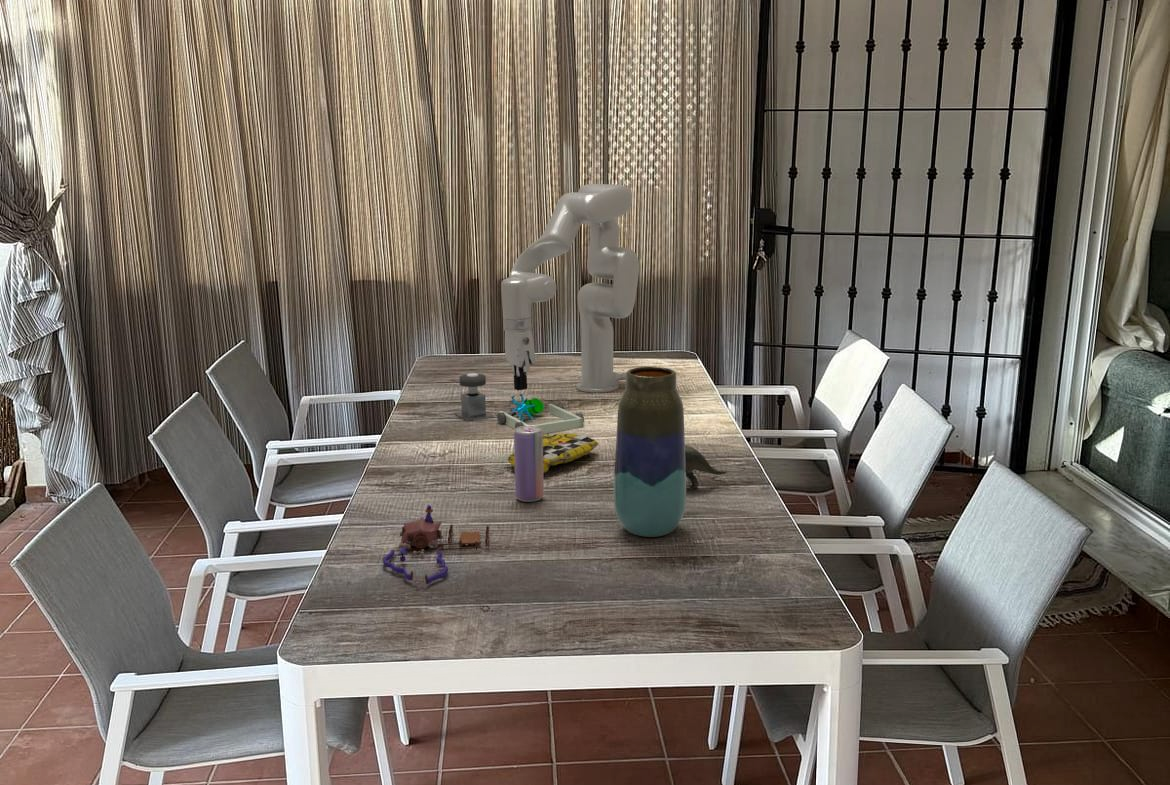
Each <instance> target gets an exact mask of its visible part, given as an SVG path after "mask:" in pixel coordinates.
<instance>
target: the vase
mask: <svg viewBox="0 0 1170 785" xmlns="http://www.w3.org/2000/svg"><path fill="white" fill-rule="evenodd" d="M625 373H626V379H625V389H624V390H623V393H622V396H621V398H620V399H619V402H618V405H617V406H618V408H617V422H616V438H615V456H614V474H613V505H614V512H615V514H616V515H615V516H616V517H617V519H618V521H619V522H620V525H622V527H623V528H624V529H625V530H626V531H627V532H628V533H630V534H632V535H635V536H639V537H645V538H646V537H647V538H652V537H653V538H655V537H662V536H665V535H668V534H670V533H672V532H673V531H674V530H675V529H676V528H677V527H678V525H679V524H680V523H681V521H682V519H683V517H684V514H685V510H686V504H687V477H686V461H685V445H686V439H685V438H686V437H685V435H686V434H685V413H684V412H685V411H684V402H683V400H682V398H681V395H680V394H679V392H678V389H677V372H676V371H675V370H674V369H671V368H668V367H661V366H660V367H659V366H642V367H641V366H639V367H633V368H631V369H628V370H626V372H625Z"/></svg>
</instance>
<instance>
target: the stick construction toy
mask: <svg viewBox="0 0 1170 785" xmlns="http://www.w3.org/2000/svg"><path fill="white" fill-rule="evenodd" d="M519 396H520V397H521V399H520V400H521V403H520V402H518V401H517V400H516V399H515V396H514V395H513V396H511V400H510V403H514V405H515V406H516V407H517V408H514V409H510V410H509V413H511V412H512V413H511V414H510V415H511V416H513V417H516V419H518V418H520V421H522V422H524V423H526V420H524V416H523V415H524V414H526V415H527V416H528V417H529V418H530V422H532V421H533V420H534V416H536V415H538V414H541V413H542V412H543V411H544V409H545V408H544V407H545V406H544V403H543V401H541V399H539V398H537V397H533V398H531V399H527V398H526V399H525V400H524V395H523V393H520V394H519Z"/></svg>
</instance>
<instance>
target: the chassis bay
mask: <svg viewBox="0 0 1170 785" xmlns="http://www.w3.org/2000/svg"><path fill="white" fill-rule="evenodd" d="M547 406H548V408H547V409H548V411H547V412H548V413H549V414H551V415H552V416H555V417H557V418H560V419H562V420H558V421H550V422H546V423H545V422H544V423H537V424H533V425H532V424H531V425H530V424H528V423H526V422H522V421H521V419H518V418H517V417H516V416H511V414H509V413H507V412H505V411H503V410H499V411H497V415H496V418H497V423H498V424H499V425H503V424H504V425H506V426H509V427H510V428H512V429H514V430H515V429H516V428H517V427H520V426H538V427H540V428H541V429H542V433H543V435H546V434H548V433H551V432H552V433H558V432H563V430H564V431H567V430H573V429H574V430H575V429H580V428H584V422H585V418H584V415H583V413H581V412H578V413H575V414H574V413H572V412H570V411H568V410H565V406H564V404H562V403H560V404H556V405H555V404H553V403H548V405H547ZM557 431H558V432H557ZM545 433H546V434H545Z"/></svg>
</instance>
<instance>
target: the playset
mask: <svg viewBox="0 0 1170 785" xmlns="http://www.w3.org/2000/svg"><path fill="white" fill-rule="evenodd" d="M433 512H434V508H432V506H431V504H428V505H427V507H426V509H425V513H426V515H425V517H424V518H423V517H422V516H421V518H419V519H418V520H414V521H411V522H408V523H403V526H401V531H400V533H399V537H401V539H400V540H401V542H400V543H399V544H398V548H396V549H394V548H393V549H391V551H390V552H388V554H386V555H385V556H384V557H382V563H383V567H386V568H389V569H391V571H393V572H395V573H398V574H403V577H404V579H405V580H408V581H412V582H414V583H415V585H420V584H421V583H424V582H425V585H429V584H431V583H432V582H434V581H436V580H439V579H442V578H444V577H447V575H448V573H449V567H448V566H447V565H446V561H445V559H444V558H443V552H444V551H449V550H460V551H462V550H472V549H473V550H475V551H477V550H479V549H482V546H478V545H481V544H482V541H480V539H481V538H480V536H481V534H480V533H481V532H479V531H475V532H473V531H472V532H465V531H464V532H461V533H460V537H459V542H453V533H454V524H452V523H451V524H450V526H449V529H448V537H447V543H444V542H441V543H439V541H438V540H443V538H444V535H442V531H441V530H440V529H439V528H440V526H441V525H442V521H439V522H434V519H433V517H432V515H431V513H433ZM485 528H486V530H485V540H484V543H485V547H486V548H489V546H490V545H489V544H490V526H488V524H487V525H486V527H485ZM463 545H465V546H468V545H475V546H473V547H470V546H469V547H463ZM438 546H440V548H438ZM444 546H459V547H453V548H452V547H449V548H448V547H446V548H444ZM412 547H415V548H416V549H420V550H418V551H416V550H413V551H412V554H419V553H420V555H424V554H425V548H426V547H428V548H430V549H435V548H438V550H436V552H437V556H436V558H435V559H436V563H437V565H435V567H436V568H437V571H438V572H437V573H435V574H432V575H430V576H428V575H427V574H425V576H424V579H420V580H418V579H417V578H414V572H413V570H411V571H410V574H409V573H408V572H407V570H406V568H405V567H404V566H402V564H398V565H397V566H396V565H395V563H393V562H389V561H390V560H391V559H392V558H393V557H394V556H395V552H398V551H399V553H398V554H397V556H400V555H401V556H400V557H399V559H400V560H399V561H400V562H406V556H404V555H408V552H407V550H409V549H411V548H412Z"/></svg>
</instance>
